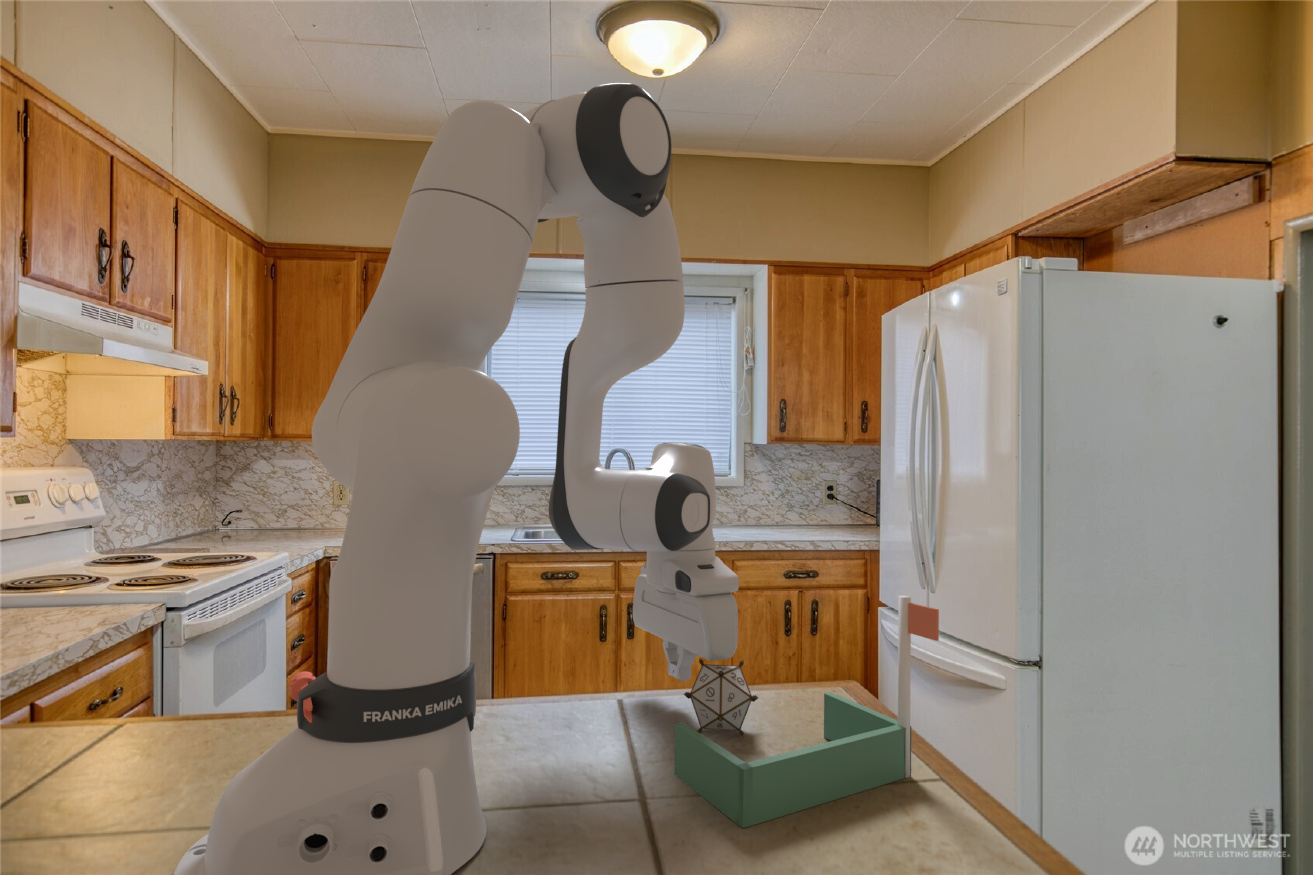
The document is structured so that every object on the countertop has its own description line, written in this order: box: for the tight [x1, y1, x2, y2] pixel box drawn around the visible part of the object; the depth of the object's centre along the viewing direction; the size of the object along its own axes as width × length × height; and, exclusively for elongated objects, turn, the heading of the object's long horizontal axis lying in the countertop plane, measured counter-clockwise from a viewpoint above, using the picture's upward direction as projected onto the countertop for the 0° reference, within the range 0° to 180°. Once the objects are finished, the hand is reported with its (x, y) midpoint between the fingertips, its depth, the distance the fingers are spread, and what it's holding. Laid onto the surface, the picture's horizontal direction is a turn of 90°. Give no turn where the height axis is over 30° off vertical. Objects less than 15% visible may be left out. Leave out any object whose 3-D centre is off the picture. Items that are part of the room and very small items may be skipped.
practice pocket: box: [673, 595, 940, 829], centre depth 69 cm, size 21×15×18 cm
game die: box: [683, 657, 759, 738], centre depth 82 cm, size 9×8×10 cm
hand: (679, 677), depth 90 cm, fingers closed
